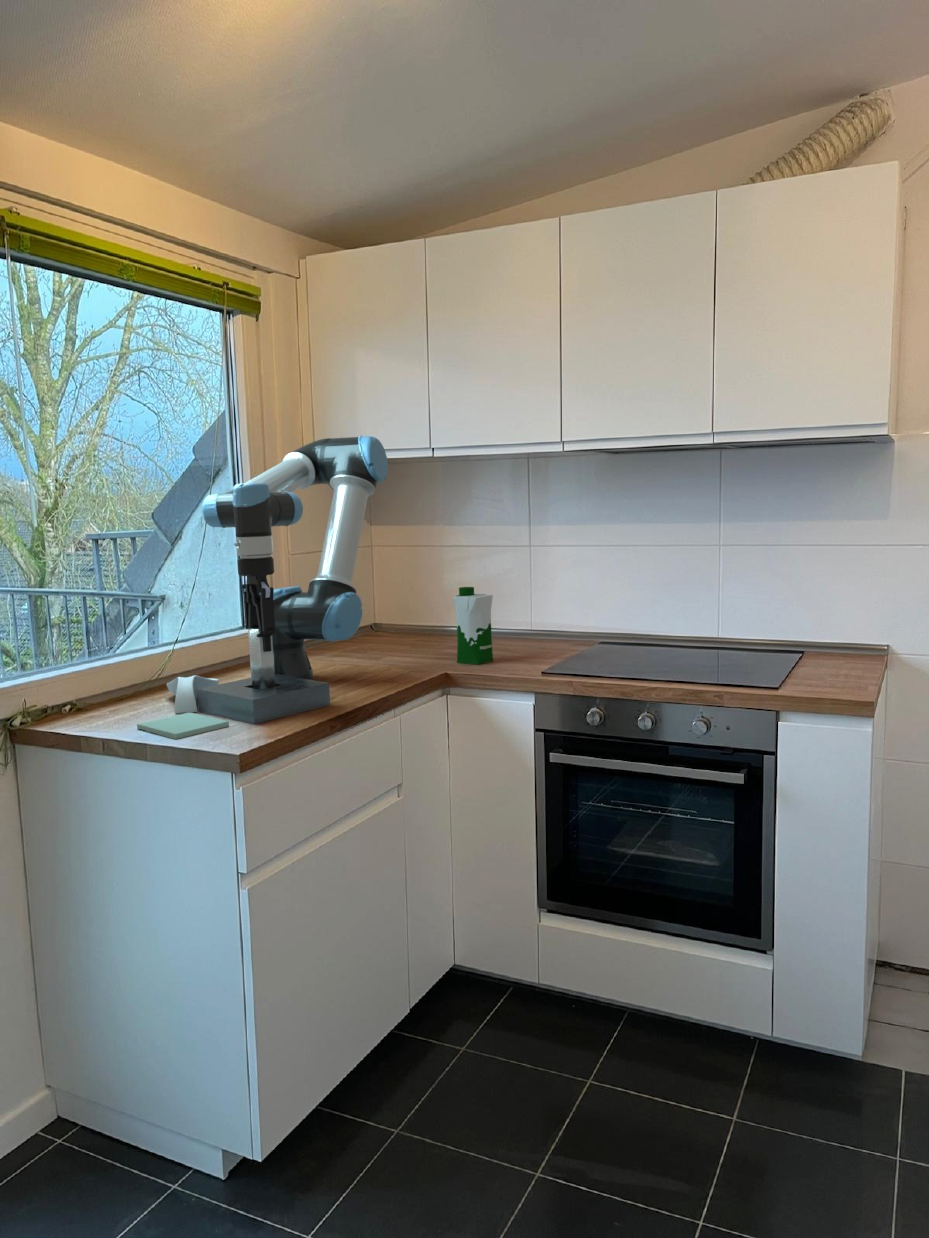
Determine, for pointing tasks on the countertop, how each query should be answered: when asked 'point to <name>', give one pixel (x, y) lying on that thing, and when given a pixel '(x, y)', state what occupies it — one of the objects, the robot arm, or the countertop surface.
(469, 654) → the milk carton
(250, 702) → the housing
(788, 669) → the countertop surface
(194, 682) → the white curved piece
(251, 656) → the grey tall block
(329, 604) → the robot arm
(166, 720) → the mat
